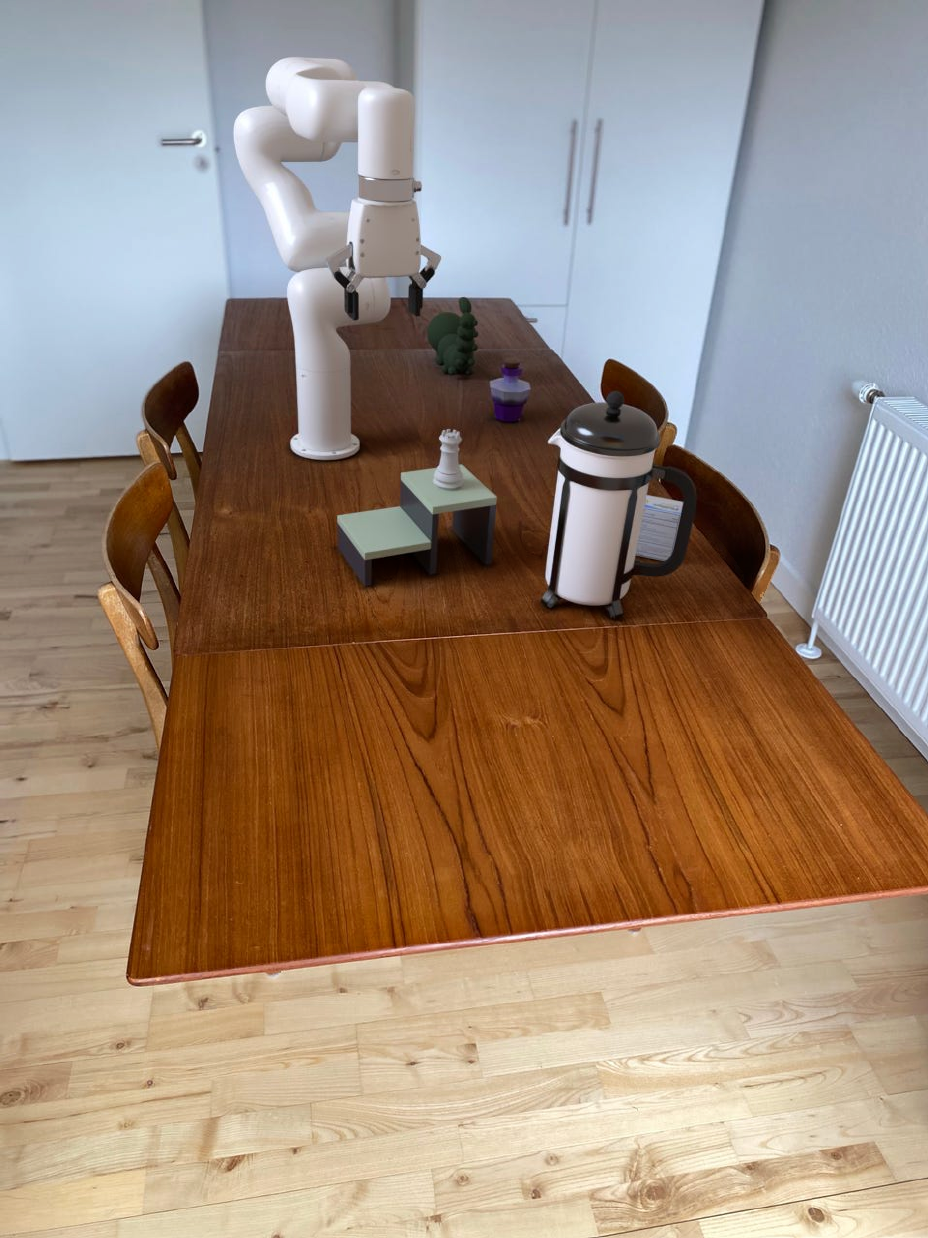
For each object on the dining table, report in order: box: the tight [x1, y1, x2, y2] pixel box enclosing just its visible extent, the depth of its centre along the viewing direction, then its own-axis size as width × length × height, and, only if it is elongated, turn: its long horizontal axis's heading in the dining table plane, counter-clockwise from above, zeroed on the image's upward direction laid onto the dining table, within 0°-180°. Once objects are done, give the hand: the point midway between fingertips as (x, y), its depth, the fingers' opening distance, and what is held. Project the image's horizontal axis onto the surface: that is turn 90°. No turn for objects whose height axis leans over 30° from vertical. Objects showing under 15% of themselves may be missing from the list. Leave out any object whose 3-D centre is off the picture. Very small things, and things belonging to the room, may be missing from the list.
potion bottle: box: [489, 357, 532, 424], centre depth 186 cm, size 9×9×12 cm
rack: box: [336, 464, 498, 588], centre depth 136 cm, size 12×20×11 cm, turn 115°
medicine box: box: [635, 494, 683, 562], centre depth 142 cm, size 8×4×9 cm, turn 71°
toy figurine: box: [426, 296, 479, 376], centre depth 209 cm, size 9×19×25 cm
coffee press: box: [540, 390, 697, 621], centre depth 124 cm, size 17×16×30 cm
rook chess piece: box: [433, 428, 463, 490], centre depth 132 cm, size 4×4×8 cm
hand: (383, 315), depth 137 cm, fingers open, 9 cm apart
